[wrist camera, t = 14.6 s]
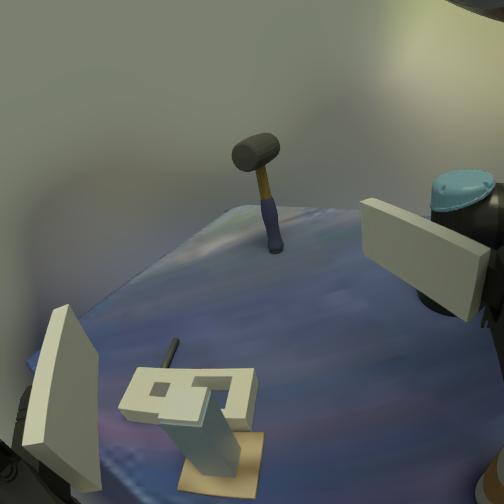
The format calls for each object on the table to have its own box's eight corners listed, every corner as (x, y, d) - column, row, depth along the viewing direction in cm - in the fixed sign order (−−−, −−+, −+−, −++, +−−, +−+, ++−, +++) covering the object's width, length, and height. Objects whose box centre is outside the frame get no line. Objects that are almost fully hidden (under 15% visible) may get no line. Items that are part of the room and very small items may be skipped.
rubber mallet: (274, 239, 90) (252, 132, 77) (299, 240, 86) (279, 129, 73) (253, 262, 81) (225, 143, 68) (280, 264, 77) (255, 139, 64)
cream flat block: (163, 342, 59) (156, 328, 58) (265, 338, 55) (261, 323, 54) (128, 420, 43) (117, 407, 41) (250, 431, 39) (245, 417, 37)
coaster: (195, 431, 40) (194, 429, 40) (265, 434, 38) (264, 432, 38) (178, 491, 31) (176, 489, 31) (255, 499, 29) (254, 498, 29)
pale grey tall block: (208, 447, 37) (168, 384, 31) (241, 448, 36) (209, 385, 30) (201, 474, 33) (155, 418, 27) (236, 477, 32) (198, 422, 26)
